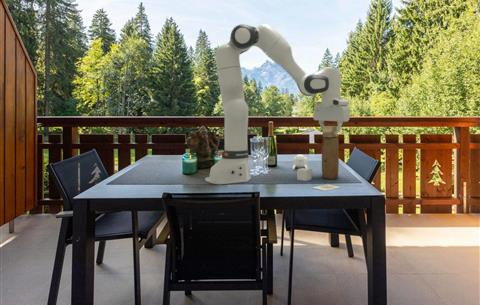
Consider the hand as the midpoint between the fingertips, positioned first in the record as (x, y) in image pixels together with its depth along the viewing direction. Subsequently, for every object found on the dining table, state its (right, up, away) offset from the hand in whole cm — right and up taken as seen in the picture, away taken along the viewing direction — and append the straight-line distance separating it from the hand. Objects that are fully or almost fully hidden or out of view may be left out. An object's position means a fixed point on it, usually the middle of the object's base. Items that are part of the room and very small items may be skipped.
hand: (330, 130), depth 181 cm
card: (-6, -26, -19) cm, 33 cm away
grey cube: (-13, -24, -1) cm, 27 cm away
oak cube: (0, -3, 0) cm, 3 cm away
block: (0, -23, +3) cm, 23 cm away
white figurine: (-10, -20, +27) cm, 35 cm away
